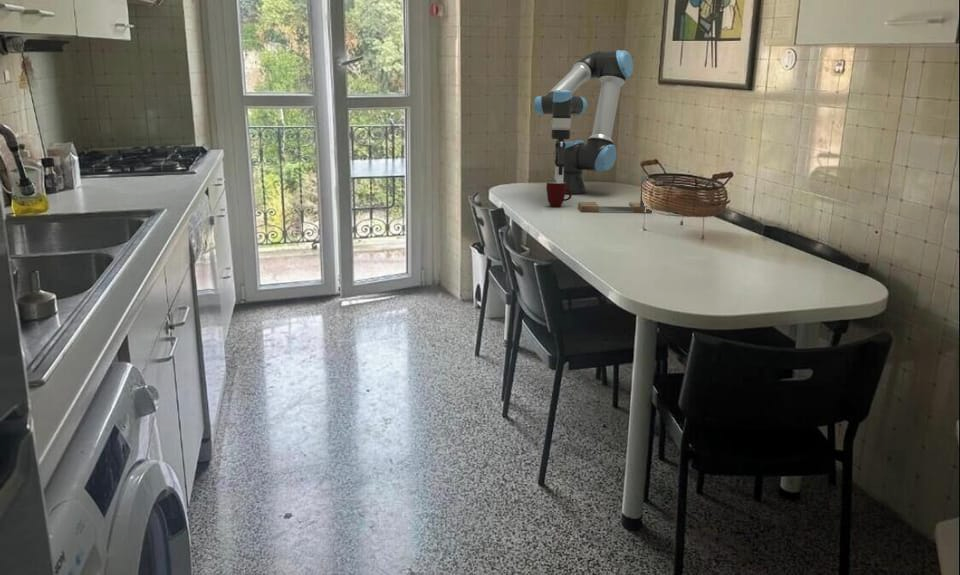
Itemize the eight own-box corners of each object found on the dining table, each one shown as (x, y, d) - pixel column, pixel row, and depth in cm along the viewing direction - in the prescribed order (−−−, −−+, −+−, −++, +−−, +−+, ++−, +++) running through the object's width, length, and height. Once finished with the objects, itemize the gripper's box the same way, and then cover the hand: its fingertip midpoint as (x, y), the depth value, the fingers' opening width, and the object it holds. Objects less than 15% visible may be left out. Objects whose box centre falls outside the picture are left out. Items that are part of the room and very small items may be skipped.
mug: (567, 205, 307) (568, 181, 304) (573, 207, 299) (574, 183, 296) (543, 205, 305) (544, 181, 302) (548, 208, 297) (549, 183, 295)
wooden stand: (578, 207, 299) (579, 172, 296) (646, 208, 298) (648, 173, 294) (581, 212, 286) (582, 175, 283) (652, 213, 285) (654, 176, 282)
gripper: (550, 128, 306) (548, 178, 311) (553, 129, 282) (551, 184, 287) (567, 128, 306) (565, 179, 311) (572, 129, 282) (570, 184, 287)
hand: (558, 181), depth 299 cm, fingers open, 13 cm apart
